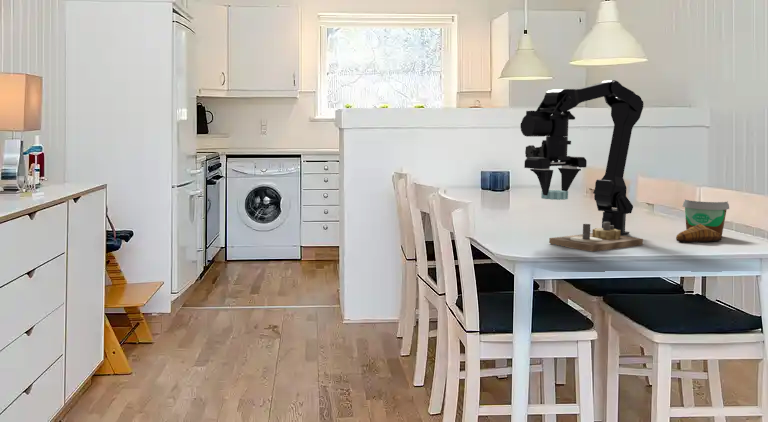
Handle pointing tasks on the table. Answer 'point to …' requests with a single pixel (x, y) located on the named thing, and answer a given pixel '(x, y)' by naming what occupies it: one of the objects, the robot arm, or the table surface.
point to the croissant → (698, 234)
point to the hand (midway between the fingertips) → (554, 194)
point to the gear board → (597, 239)
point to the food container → (706, 214)
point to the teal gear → (555, 195)
